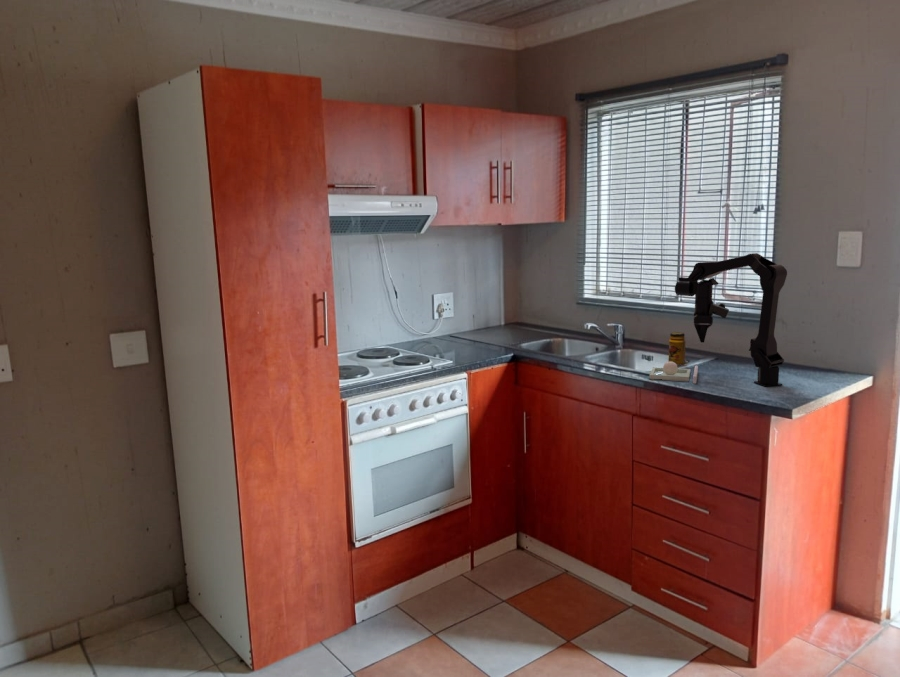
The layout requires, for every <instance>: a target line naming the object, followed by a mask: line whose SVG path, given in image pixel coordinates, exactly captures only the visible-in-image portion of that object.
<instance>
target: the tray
mask: <svg viewBox="0 0 900 677" xmlns="http://www.w3.org/2000/svg"><path fill="white" fill-rule="evenodd" d="M658 371H663V367H652V369H651V371H650V374H649V380H654V379H662V380H661V381H672V382H675V381H676V382H690V377H691V368H678V371H677V373H676V374H674V375H667V374H665V373H664V371H663V374H661V375H656V374H654V373H655V372H658Z"/></svg>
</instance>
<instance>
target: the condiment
mask: <svg viewBox="0 0 900 677" xmlns="http://www.w3.org/2000/svg"><path fill="white" fill-rule="evenodd" d="M669 335H670V336H669V337H670V338H669V341H668V359H667V360H668V361H667V362H669V361H672V362H674V363H676V365H677V366H686V367H687V365H688V363H689V361H688V360H686V343H687V342H686V340H685V339H686V337H685V333H684V332H679V331H678V332H676V331H674V332H671V333H670V334H669Z"/></svg>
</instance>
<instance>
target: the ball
mask: <svg viewBox="0 0 900 677" xmlns="http://www.w3.org/2000/svg"><path fill="white" fill-rule="evenodd" d="M668 361H669V360H668ZM668 361H667V362H664V364H663V366H662V368H663V371H664V373H665V374H667V375H674V374H676V373H677V371H678V369H679V367H678V365H676V363H674V362H672V361H669V362H668Z"/></svg>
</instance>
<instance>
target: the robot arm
mask: <svg viewBox="0 0 900 677" xmlns="http://www.w3.org/2000/svg"><path fill="white" fill-rule="evenodd" d="M747 267H750V269H751V270H752V271H753V273H754V274H755V275H757V276H759V284H760V287H761V290H762V300H761V309H760V314H759V315H760V316H759V323H758V324H759V325H758V331H757V332H758V333H757V336H756V337H754V338H750V343H749V344H750V346H749V349H748V351H749V352H750V357H751V358H752V359H753V363H754V365H755V368H758V369H757V380H753V383H754V384H756V385H760V386H762V387H777V386H778V387H779V386H783V383H781V382H779V379H780V378H779V377H780V367H779V366H781V367H782V366H783V364H784V362H785V359H784V358H783V356H782V355H781V354H780V353H779V352H778V343H777V340H776V338H775V328H776V319H777V312H778V303H779V296H780V293H781V290H782V289H783V287H784V285H785V284H786V283H785V282H786V280H787V275H788V271H787V268H785V266H783V265H782V264H777V263H776V262H774V261H772V260H770V259H768V258H765V257H764V256H763V255H761V254H760V253H758V252H757V253H756V252H755V253H748V254H745V255H741V256H737V257H733V258H727V259H725V260H719V261H700V262H696V263H695V264H694V266H693V270H692V271H691V273H690V274H689V275H688V277H686V276H679V277H678V281H676V283H675V286H674V293H675V294H676V295H677V296H681V297H682V296H683V297H694V312H693V326H694V328H695V330H696V333H697V335H698V338H699V341H700V343H705V341H706V340H705V339H706V335H707V331H708V329H709V328H710V327H712V326H713V323H714V322H713V320H714V318H713V315H715V316H718V317H721V318H722V319H727V316H728V313H730V309H729V308H727V307H726V305H725V303H721V302H720V303H719V304H715V303H714V300H713V286H717V285H719V283H720V282H718V281H717V280H716V279H715V277H716V276H719V275H720V274H721V273H724V272H727V271H732V270H736V269H741V268H747ZM698 281H699V282H698Z"/></svg>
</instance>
